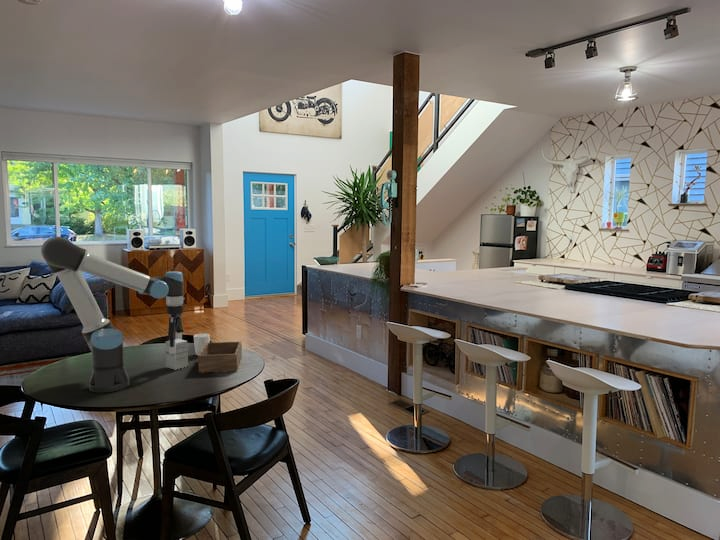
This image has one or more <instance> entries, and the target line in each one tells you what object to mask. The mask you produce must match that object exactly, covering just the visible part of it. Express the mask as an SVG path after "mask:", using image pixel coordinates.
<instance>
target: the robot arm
mask: <svg viewBox="0 0 720 540" xmlns="http://www.w3.org/2000/svg"><path fill="white" fill-rule="evenodd" d="M40 249H41V250H40V251H41V256H42V258H43V259H44V261H45V263H46V265H47V267H48V268H49V270H50V271H49V272H50V273H51V274H52V275H54V276H57V277H58V280H59V281H60V283H61V285H62V287H63V289H64V291H65V293H66V295H67V297H68V299H69V301H70V302H71V305H72V307H73V309H74V311H75V313H76V314H77V317H78V319H79V320H80V323H81V324H82V327H83V328H82V330H81V334H82V335H83V337H84V340H85V341H86V343H87V347H88V348H89V349H90V351H91V356H92V357H91V359H92V371H91V372H92V373H91V376H90V378H89V379H90V381H89V385H88V389H89V391H90V392H92V393H99V394H100V393H101V394H103V393H113V392H116V391H120V390H123V389H125V388H128V387H129V386H130V377H129V375H128V373H127V371H126V368H125V357H124V336H123V332H122V331H121V330H119V329H116V328H114V326H113V324H112V322H111V320H110V319H107V318H105V317H104V315H103V313H102V310H101V308H100V307H99V305H98V303H97V300H96V298H95V296H94V295H93V293H92V290H91V289H90V286H89V284H88V282H87V280H86V278H85V276H84V274H83V273H86V274H88V275H92V276H94V277H97V278H100V279H103V280H106V281H109V282H111V283H113V284H114V283H115V284H118V285H120V286H122V287H126V288H129V289H131V290H134V291H137V293H138V294H139V295H148V296H151V297H153V298H154V299H163V298H165V305H166V306H165V307H166V309H165V311H166V314H167V315H171V316H170V317H169V318H168V330H167V331H168V334H167V338H166V341H169V354H176V339H181V340H183V333H184V330H183V322H182V314H183V313H184V311H185V310H184V305H183V304H184V300H185V297H184V275H183V272H181V271H175V270H174V271H173V270H172V271H166V272H165V275H164V276H149V275H147V274H145V273H143V272H140V271H136V270H133V269H131V268H129V267H126V266H124V265H120V264H118V263H115V262H113V261H110V260H107V259H105V258H102V257H99V256H97V255H94V254H91V253H90V252H88V250H87V249H85V248H82V247H80V246H79V245H77V244H75V243H73V242H72V241H70V240H69V239H68V238H66V237H62V236H54V237H50V238H48V239H46V240H45V241H44V243H42V245H41V247H40Z"/></svg>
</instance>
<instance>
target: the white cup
mask: <svg viewBox="0 0 720 540" xmlns="http://www.w3.org/2000/svg"><path fill="white" fill-rule="evenodd" d="M210 338H211V335H210V333H196V334H194V335H193V344H194V351H195V356H196V355H199V354H200V352H201V351H202V349H203V347H204V346H205V344H206V343H211V339H210Z"/></svg>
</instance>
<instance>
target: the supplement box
mask: <svg viewBox="0 0 720 540" xmlns="http://www.w3.org/2000/svg"><path fill="white" fill-rule="evenodd" d="M175 339H176V338H175ZM164 343H165V365H166V366H165V367H166V368H167V369H168V368H169V369H172V370H174V371H178V370H181V369H185V368H187V366H188V367H189V352H188V351H189V350H188V349H189V348H188V347H189V346H188V340H184V339H182V340H181V339H176V354H169V340H166V341H164ZM184 367H185V368H184ZM180 368H181V369H180ZM177 369H178V370H177Z"/></svg>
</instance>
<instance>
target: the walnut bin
mask: <svg viewBox="0 0 720 540" xmlns="http://www.w3.org/2000/svg"><path fill="white" fill-rule="evenodd" d="M242 344H243V343H242V341H219V342H218V341H217V342H214V341H213V342H210V343H206V344H205V346H204V347H203V349H202V351H201V352H200V354H199V355H198V356H197V361H198V363H197V365H198V373H199V372H214V373H217V372H216V371H237V370H239V368H240V365H239V364H241V362H240V361H242V358H243V352H242V351H243V349H242V347H243V345H242ZM238 367H239V368H238ZM237 372H238V371H237Z"/></svg>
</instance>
